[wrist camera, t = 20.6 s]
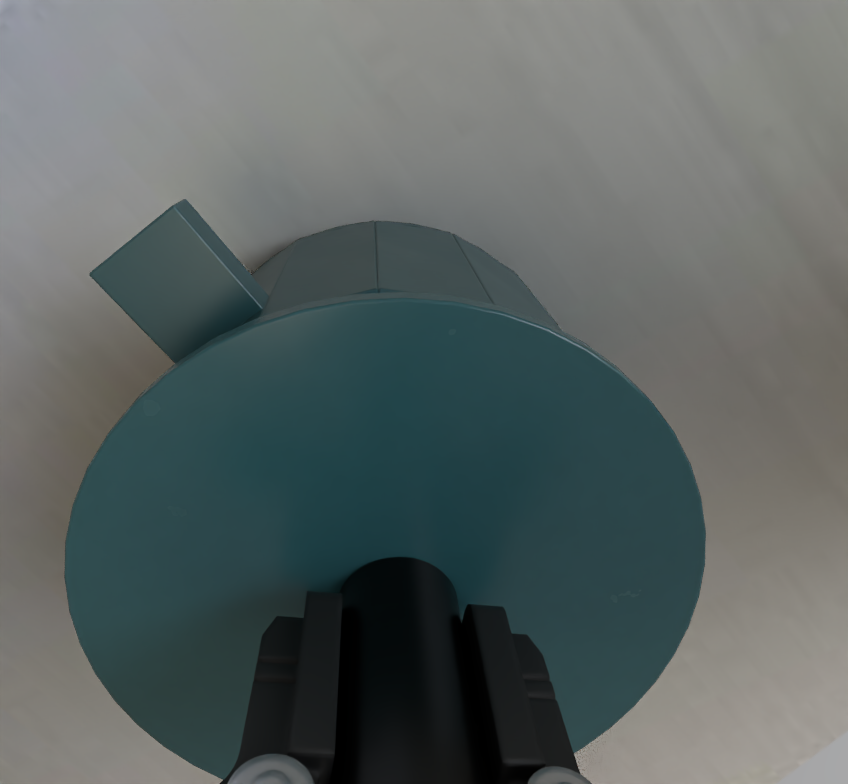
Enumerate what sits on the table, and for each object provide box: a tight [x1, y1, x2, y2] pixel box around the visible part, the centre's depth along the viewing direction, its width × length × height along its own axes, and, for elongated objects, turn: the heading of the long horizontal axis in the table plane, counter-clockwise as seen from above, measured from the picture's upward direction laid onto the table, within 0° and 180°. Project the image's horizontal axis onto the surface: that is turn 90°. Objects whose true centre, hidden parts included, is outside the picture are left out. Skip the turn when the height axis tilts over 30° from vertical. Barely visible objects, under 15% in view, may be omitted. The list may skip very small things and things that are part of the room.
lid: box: [65, 292, 706, 784], centre depth 12 cm, size 14×14×7 cm
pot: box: [90, 199, 562, 363], centre depth 20 cm, size 13×18×8 cm
